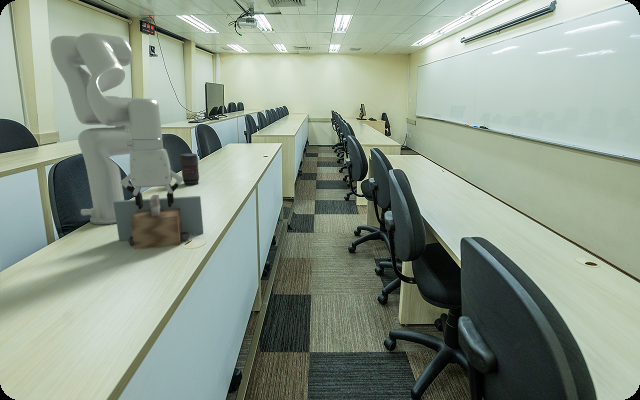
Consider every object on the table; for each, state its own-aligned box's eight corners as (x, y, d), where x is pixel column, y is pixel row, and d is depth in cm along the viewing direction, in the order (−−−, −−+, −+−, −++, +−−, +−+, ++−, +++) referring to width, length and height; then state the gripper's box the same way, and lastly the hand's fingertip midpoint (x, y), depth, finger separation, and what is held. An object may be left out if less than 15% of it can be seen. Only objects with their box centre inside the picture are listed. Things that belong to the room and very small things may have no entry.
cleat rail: (129, 246, 102) (128, 239, 101) (131, 243, 104) (130, 236, 103) (188, 240, 106) (187, 234, 105) (189, 238, 108) (188, 231, 107)
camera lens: (185, 186, 173) (182, 156, 169) (181, 183, 179) (178, 154, 175) (201, 184, 177) (199, 154, 173) (197, 181, 183) (194, 152, 179)
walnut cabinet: (134, 249, 100) (127, 202, 96) (140, 239, 107) (134, 194, 103) (180, 245, 103) (174, 199, 99) (182, 235, 110) (178, 192, 106)
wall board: (119, 240, 106) (113, 202, 102) (120, 238, 107) (114, 200, 104) (203, 233, 112) (200, 197, 108) (203, 231, 113) (200, 195, 110)
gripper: (108, 147, 91) (118, 212, 96) (180, 146, 96) (186, 208, 100) (116, 144, 98) (125, 205, 103) (183, 142, 103) (188, 201, 107)
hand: (155, 206), depth 102 cm, fingers open, 7 cm apart
